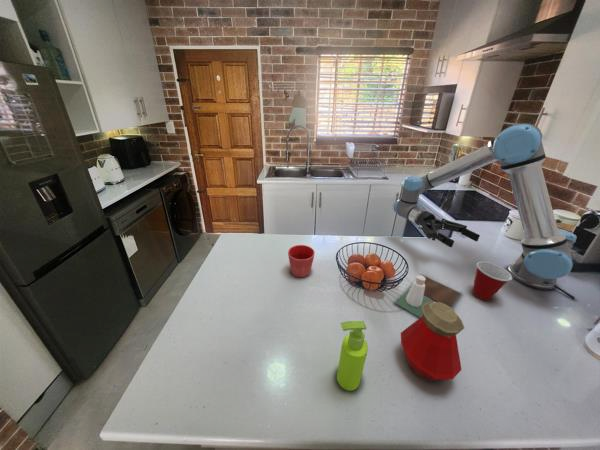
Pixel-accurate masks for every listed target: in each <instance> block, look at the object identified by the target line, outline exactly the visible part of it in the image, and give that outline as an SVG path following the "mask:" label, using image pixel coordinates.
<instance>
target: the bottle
mask: <svg viewBox="0 0 600 450" xmlns="http://www.w3.org/2000/svg"><path fill="white" fill-rule="evenodd" d="M422 312H423V316H422V317H421V318H418V319H417V320H415V321H414V322H412V323H411V324H410V325H409V326H407V327H405V328H404V329H403V330H402V331H401V332H400V342H401V347H402V349H403V353H404V356H405V359H406V361H407V363H408V365H409V368H410V369H411V370H412V371H413V372H414V373H415V374H416V375H417V376H419V377H420V378H422V379H423V380H424V381H428V382H429V381H430V382H439V381H449V380H454V379H455V378H456V377H457V375H459V373H460V372H461V371H462V365H461V364H462V363H461V358H460V352H459V345H458V339H457V335H458V334H459V333H461V332H462V331H463V330H465V326H464V323H463V320H462V319H461V318H460V316H459V315H458V313H456V311H455V310H454V309H453V308H452V307H451V308H450V307H449V306H448V305H446V304H443V303H441V302H436V301H433V302H426V303H425V304H423V305H422Z"/></svg>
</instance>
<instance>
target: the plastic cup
mask: <svg viewBox="0 0 600 450" xmlns="http://www.w3.org/2000/svg"><path fill="white" fill-rule="evenodd" d="M512 280H513V277H512V276H511V274H510V273H509V272H508V271H507V269H506V268H503V267H502V266H500V265H497V264H495V263H492V262H489V261H481V260H480V261H478V262H477V263H476V271H475V276H474V280H473V286H472V293H473V295H474V297H476V298H479V299H481V300H482V301H483V300H484V301H490V300H491V299H492V298H493V297H494V296H495V295H496V294H497V293H498V292H499V291H500V290H501V289H502V287H503V286H504V285H505V284H507V283H508V282H510V281H512Z"/></svg>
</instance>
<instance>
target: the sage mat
mask: <svg viewBox="0 0 600 450" xmlns="http://www.w3.org/2000/svg"><path fill="white" fill-rule="evenodd" d="M409 290H410V289H408V290H407V291H406V292H405V293H404V295H402V296H401V297H400V299H398V300H397V301H396V303H395V305H396V306H398V307H400V308H402V309H403V310H405V311H407V312H408V313H409V314H411V315H413V316H414V317H416V318H418V319H419V318H421V317H422V316H423V312H422V305H423V304H425V303H426V302H434V300H432V299H430V298H428V297H426V296H423V301H422V305H420V306H419V307H414V306H411V305H410V304H408V303H407V301H406V297H407V295H408V293H409Z"/></svg>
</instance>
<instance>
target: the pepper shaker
mask: <svg viewBox="0 0 600 450" xmlns="http://www.w3.org/2000/svg"><path fill="white" fill-rule="evenodd" d="M424 276H425V275H417V276H416V279H415V280H414V281H412V284H411V286H410V290H409V289H408V290H409V293H408V295H407V297H406V301H407V303H408V304H410V305H411V306H414V307H419V306H420V305H422V301H423V297H424V296H425V295H424V290H425V284H424V282H425V280H426V278H425V277H426V276H425V277H424Z"/></svg>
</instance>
